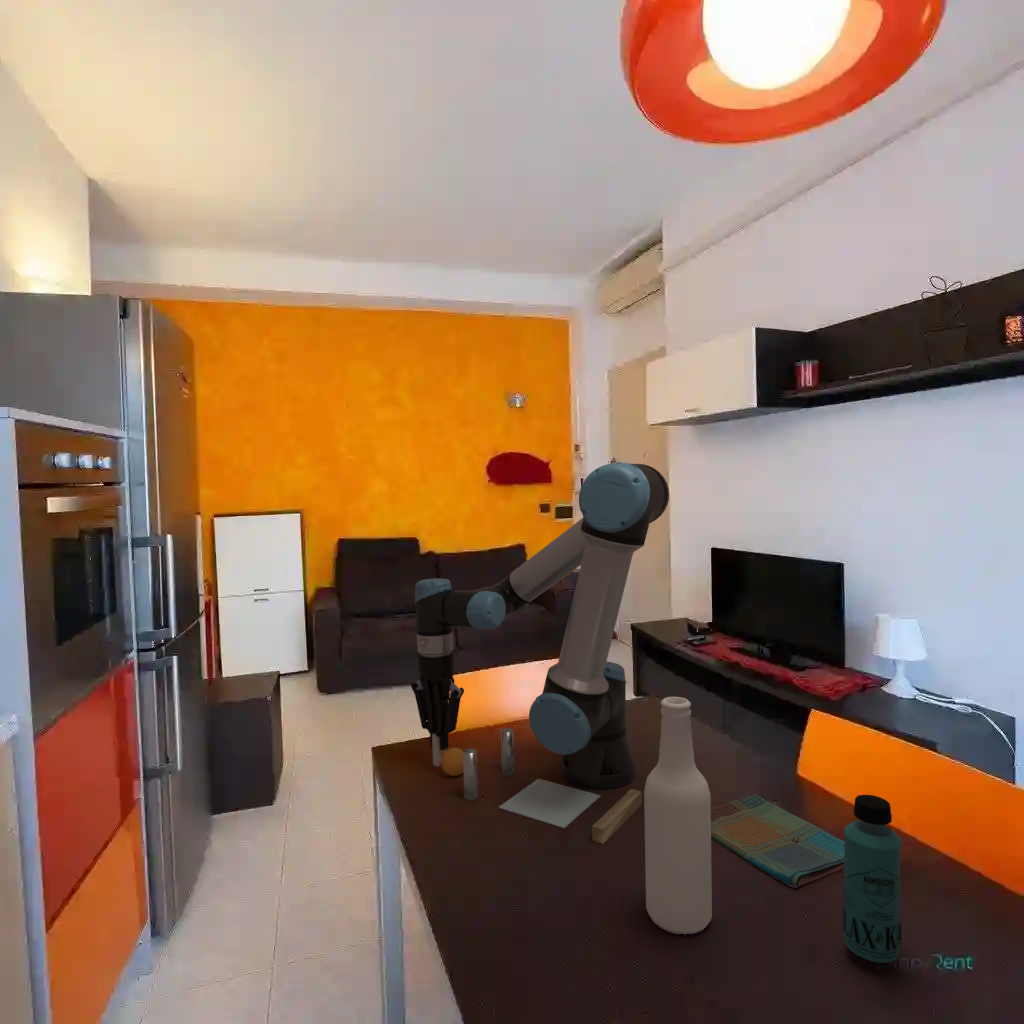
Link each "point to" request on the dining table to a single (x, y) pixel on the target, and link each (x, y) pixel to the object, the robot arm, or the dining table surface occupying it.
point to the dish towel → (775, 839)
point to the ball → (453, 761)
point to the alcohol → (677, 829)
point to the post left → (470, 774)
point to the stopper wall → (616, 816)
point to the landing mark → (550, 802)
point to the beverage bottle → (872, 882)
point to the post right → (507, 751)
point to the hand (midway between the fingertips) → (440, 763)
